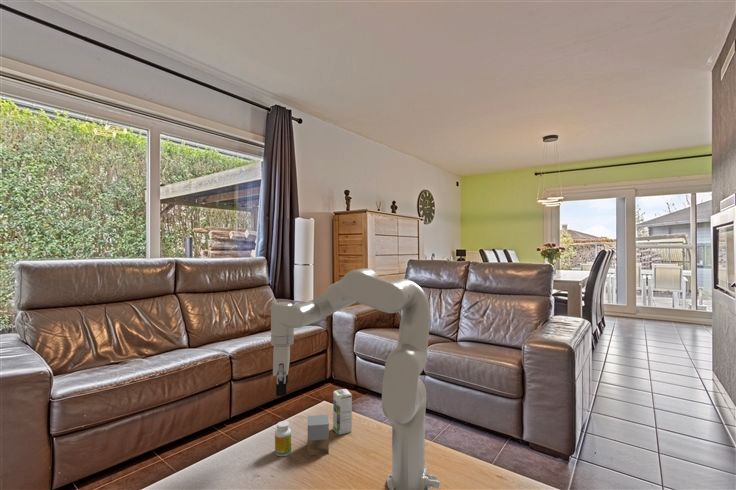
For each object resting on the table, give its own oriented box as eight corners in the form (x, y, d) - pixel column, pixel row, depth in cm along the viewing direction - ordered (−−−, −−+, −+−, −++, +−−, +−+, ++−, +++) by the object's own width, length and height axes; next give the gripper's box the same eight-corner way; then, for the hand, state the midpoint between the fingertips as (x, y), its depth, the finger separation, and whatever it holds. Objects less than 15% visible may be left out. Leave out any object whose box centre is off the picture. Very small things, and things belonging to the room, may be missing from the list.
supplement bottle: (287, 457, 120) (287, 428, 120) (272, 455, 122) (272, 426, 121) (293, 448, 126) (293, 420, 126) (279, 447, 127) (279, 419, 127)
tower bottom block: (327, 442, 130) (327, 428, 130) (328, 453, 123) (328, 438, 123) (307, 444, 129) (307, 430, 129) (307, 455, 122) (307, 440, 122)
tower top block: (327, 428, 130) (327, 414, 130) (328, 438, 123) (328, 424, 123) (307, 430, 129) (307, 416, 129) (307, 440, 122) (307, 425, 122)
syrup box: (332, 428, 139) (332, 390, 139) (346, 425, 142) (346, 388, 142) (337, 435, 134) (337, 396, 134) (352, 432, 137) (352, 393, 137)
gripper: (273, 333, 131) (272, 380, 132) (268, 346, 114) (268, 401, 114) (294, 332, 133) (294, 379, 133) (292, 345, 116) (292, 399, 116)
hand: (282, 389), depth 124 cm, fingers open, 9 cm apart
